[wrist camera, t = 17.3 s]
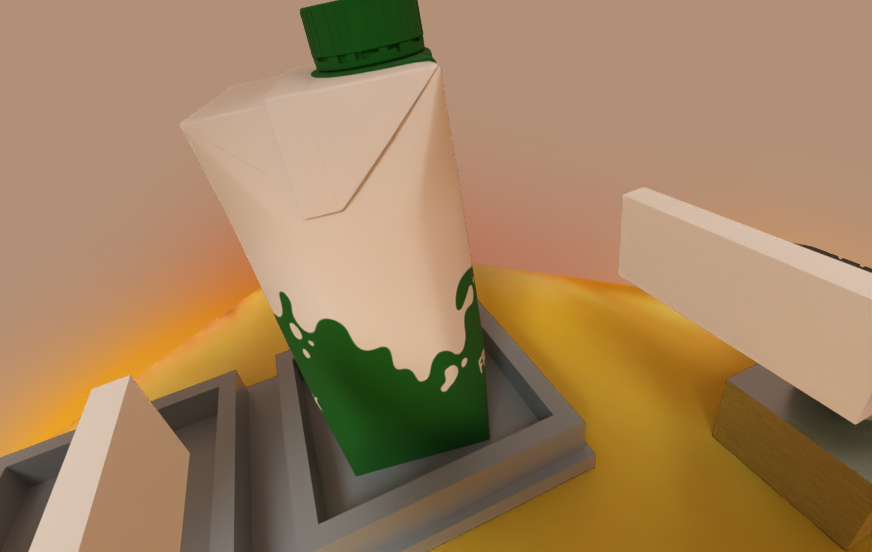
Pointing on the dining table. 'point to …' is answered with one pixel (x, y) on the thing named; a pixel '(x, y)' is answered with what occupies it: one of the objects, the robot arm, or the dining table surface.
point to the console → (801, 451)
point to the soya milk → (358, 230)
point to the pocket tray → (331, 466)
